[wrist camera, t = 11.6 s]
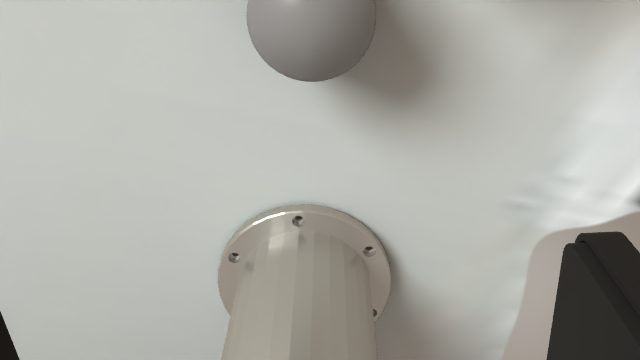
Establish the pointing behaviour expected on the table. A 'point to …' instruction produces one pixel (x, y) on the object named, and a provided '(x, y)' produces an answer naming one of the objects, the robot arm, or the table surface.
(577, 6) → the table surface
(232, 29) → the table surface
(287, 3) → the grey rounded blob
